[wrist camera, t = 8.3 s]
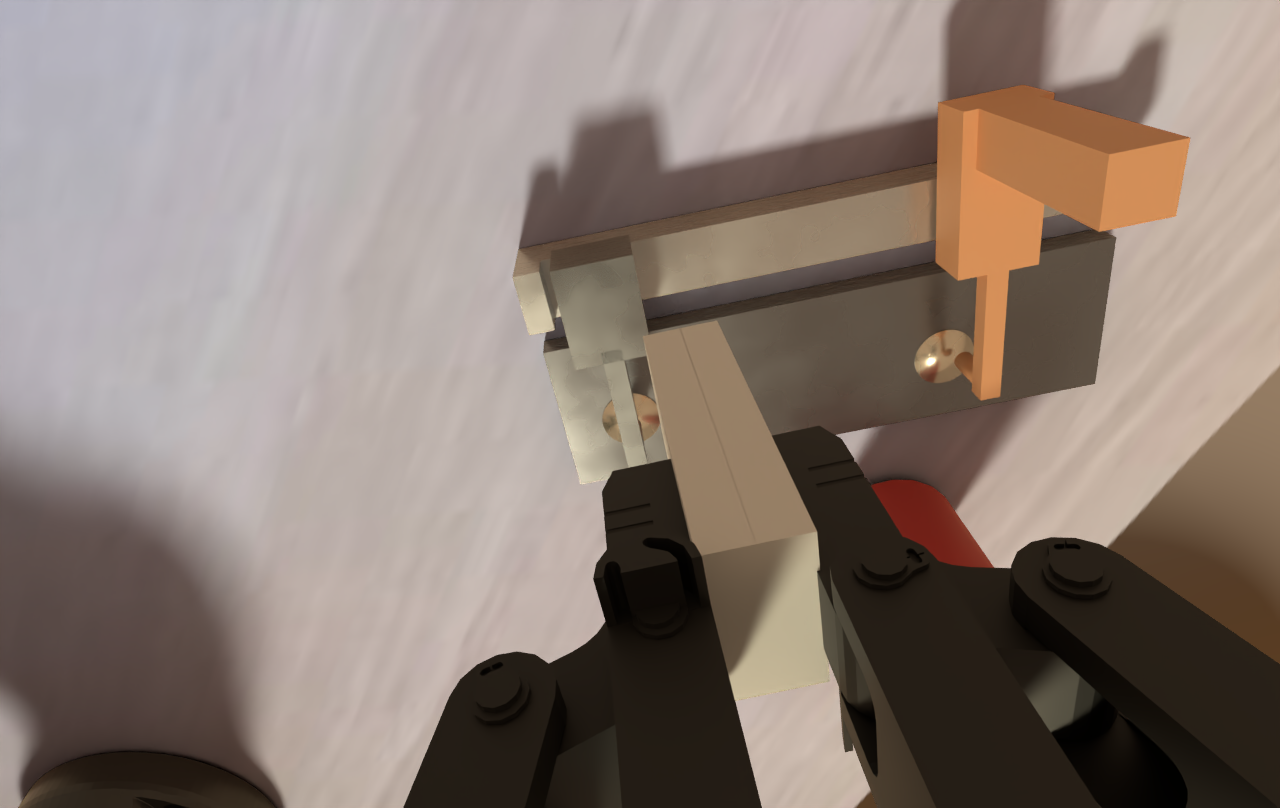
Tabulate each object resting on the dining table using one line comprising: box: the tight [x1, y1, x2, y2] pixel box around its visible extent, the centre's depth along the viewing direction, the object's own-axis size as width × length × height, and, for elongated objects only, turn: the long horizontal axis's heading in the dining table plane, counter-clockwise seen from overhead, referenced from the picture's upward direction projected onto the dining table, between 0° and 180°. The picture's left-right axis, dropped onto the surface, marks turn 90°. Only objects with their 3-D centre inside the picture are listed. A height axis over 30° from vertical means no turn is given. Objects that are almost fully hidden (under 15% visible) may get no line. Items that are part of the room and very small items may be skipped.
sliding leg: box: [936, 85, 1190, 400], centre depth 25 cm, size 3×12×10 cm, turn 10°
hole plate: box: [543, 229, 1116, 484], centre depth 33 cm, size 24×7×1 cm, turn 101°
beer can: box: [871, 480, 994, 568], centre depth 34 cm, size 7×7×12 cm
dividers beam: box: [513, 162, 1063, 468], centre depth 30 cm, size 24×9×4 cm, turn 101°
